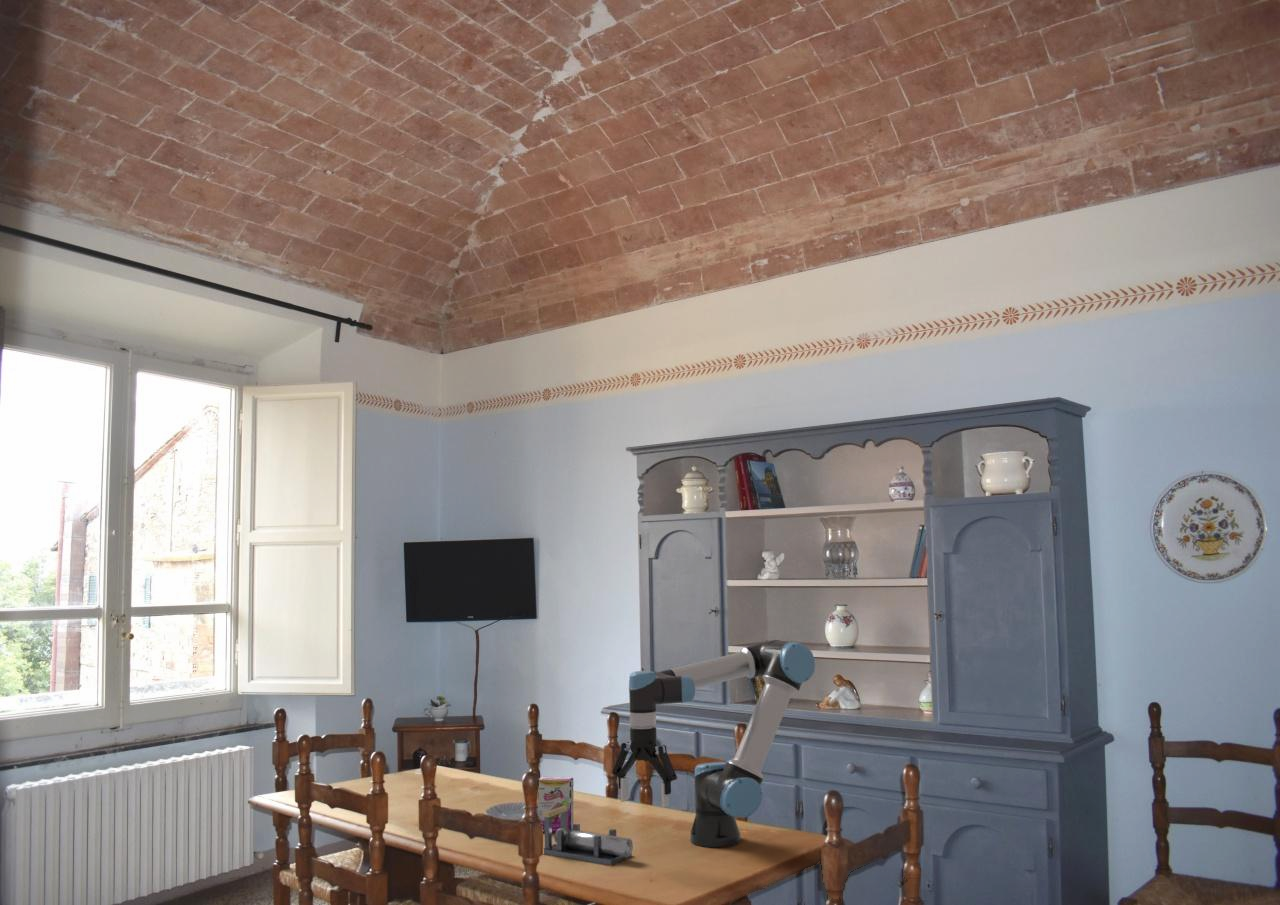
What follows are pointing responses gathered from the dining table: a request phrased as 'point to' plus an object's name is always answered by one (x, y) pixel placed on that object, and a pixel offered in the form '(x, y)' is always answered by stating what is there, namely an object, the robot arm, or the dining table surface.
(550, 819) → the collar board
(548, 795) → the candy bar box
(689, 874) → the dining table surface
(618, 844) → the tube
